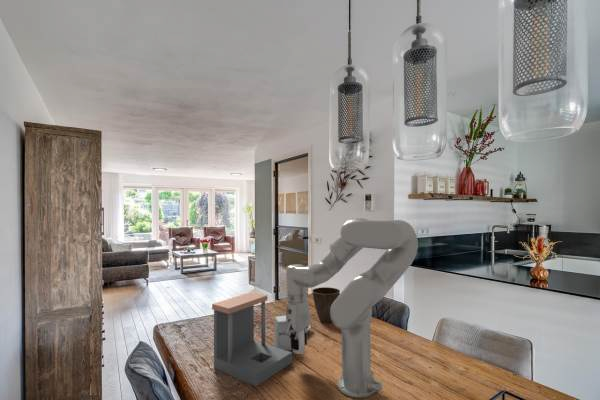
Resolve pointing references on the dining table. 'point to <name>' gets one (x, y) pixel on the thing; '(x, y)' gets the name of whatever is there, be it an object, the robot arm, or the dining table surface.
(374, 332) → the dining table surface
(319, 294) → the plant pot
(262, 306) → the socket station
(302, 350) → the peg
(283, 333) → the supplement box
